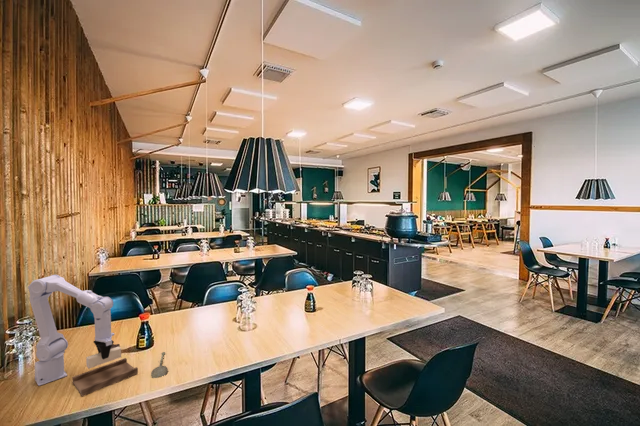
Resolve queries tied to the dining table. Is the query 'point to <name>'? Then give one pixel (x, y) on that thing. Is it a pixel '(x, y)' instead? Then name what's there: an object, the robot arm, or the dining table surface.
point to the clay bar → (97, 359)
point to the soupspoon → (159, 369)
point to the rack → (103, 376)
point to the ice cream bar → (115, 345)
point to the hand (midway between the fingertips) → (104, 356)
